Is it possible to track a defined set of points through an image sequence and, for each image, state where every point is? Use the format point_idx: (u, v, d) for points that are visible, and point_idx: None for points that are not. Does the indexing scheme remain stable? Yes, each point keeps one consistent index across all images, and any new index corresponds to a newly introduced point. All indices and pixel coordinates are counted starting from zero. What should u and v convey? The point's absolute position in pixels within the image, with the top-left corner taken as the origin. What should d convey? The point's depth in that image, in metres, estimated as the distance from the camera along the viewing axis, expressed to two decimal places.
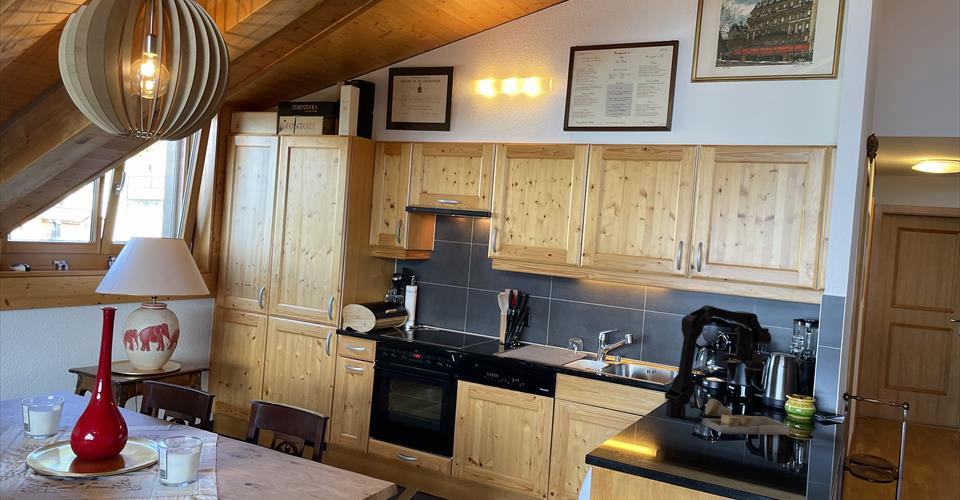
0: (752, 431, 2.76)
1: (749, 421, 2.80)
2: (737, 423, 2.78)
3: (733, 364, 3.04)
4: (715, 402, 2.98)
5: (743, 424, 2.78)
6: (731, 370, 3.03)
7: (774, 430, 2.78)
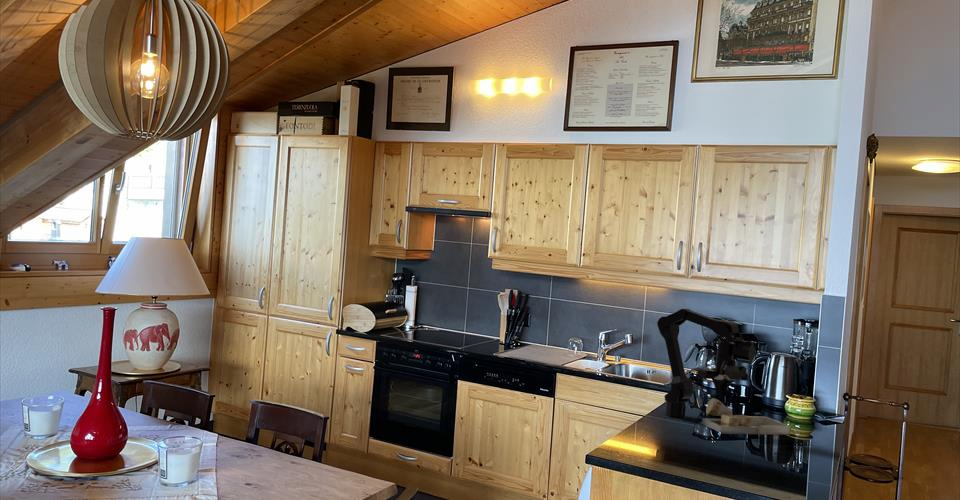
0: (752, 431, 2.76)
1: (749, 421, 2.80)
2: (737, 423, 2.78)
3: None
4: (716, 402, 2.98)
5: (743, 424, 2.78)
6: None
7: (774, 430, 2.78)
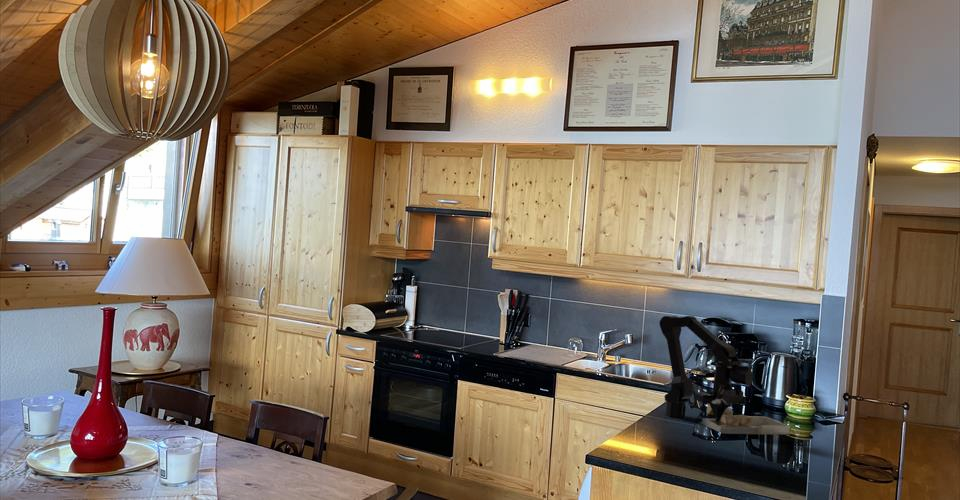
0: (752, 431, 2.76)
1: (749, 421, 2.80)
2: (737, 423, 2.78)
3: None
4: None
5: (743, 424, 2.78)
6: None
7: (774, 430, 2.78)
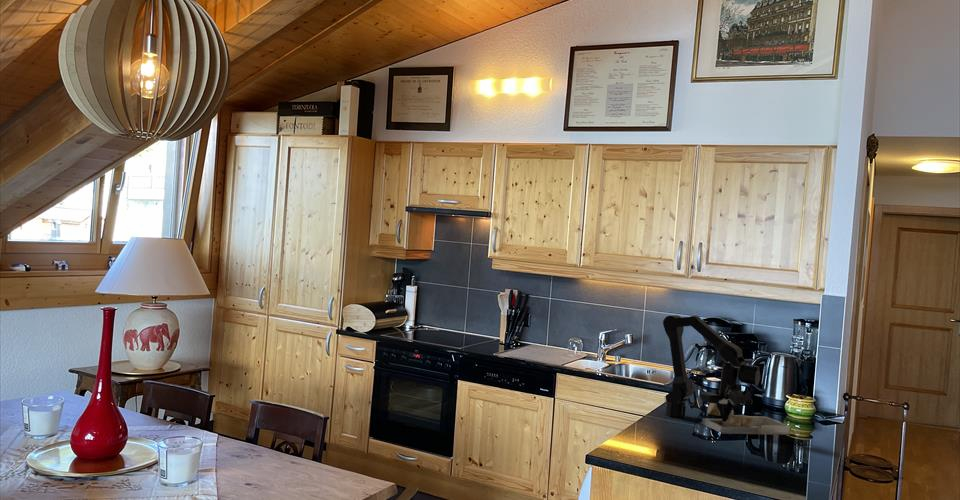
0: (752, 431, 2.76)
1: (749, 421, 2.80)
2: (739, 423, 2.78)
3: None
4: None
5: (743, 424, 2.78)
6: None
7: (774, 430, 2.78)
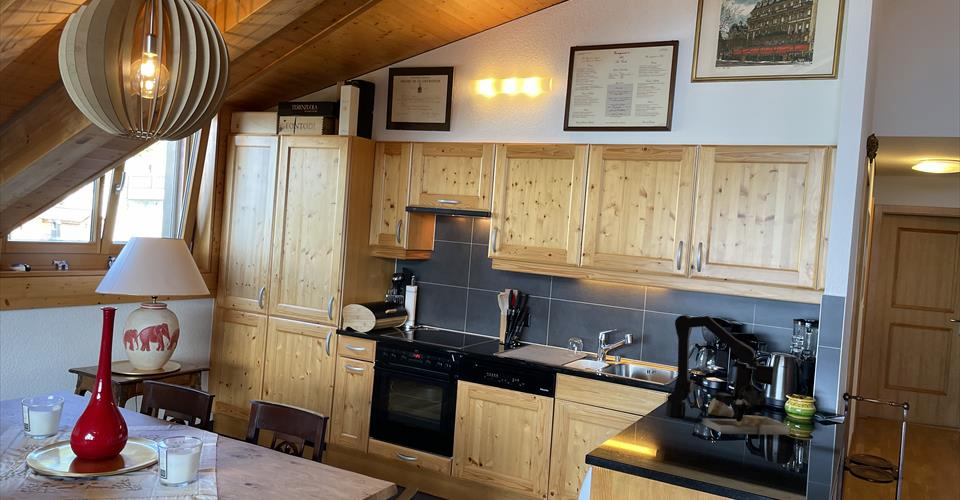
0: (752, 431, 2.76)
1: (763, 421, 2.81)
2: (753, 423, 2.80)
3: (741, 405, 2.81)
4: (717, 401, 2.99)
5: (755, 424, 2.80)
6: None
7: (774, 430, 2.78)
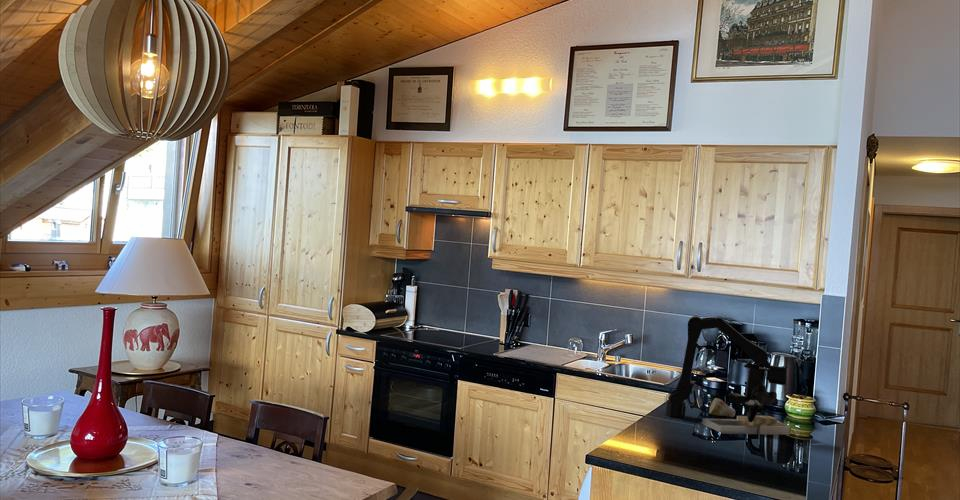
0: (752, 431, 2.76)
1: (774, 422, 2.83)
2: (765, 424, 2.82)
3: None
4: (718, 401, 3.00)
5: (767, 424, 2.82)
6: None
7: (774, 430, 2.78)
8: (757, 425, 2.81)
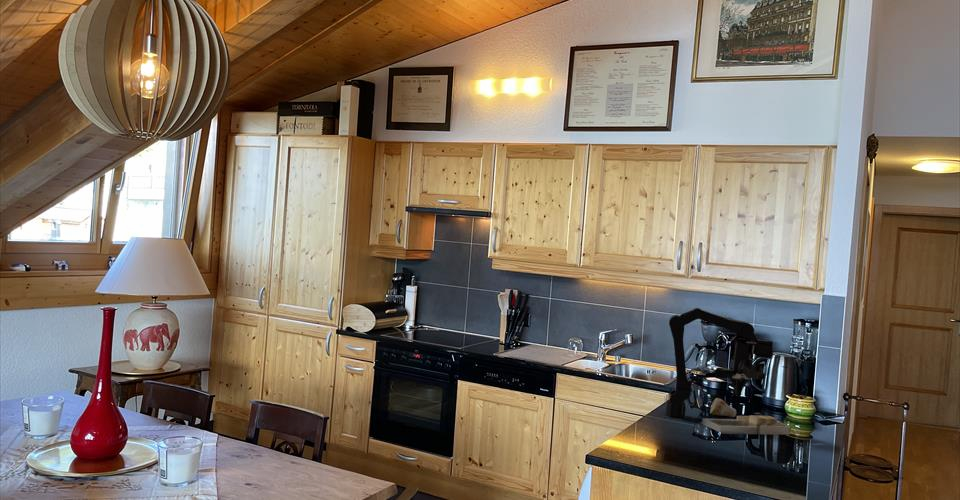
0: (752, 431, 2.76)
1: (774, 422, 2.83)
2: (765, 424, 2.82)
3: None
4: (719, 401, 3.00)
5: (767, 424, 2.82)
6: None
7: (774, 430, 2.78)
8: (757, 425, 2.81)
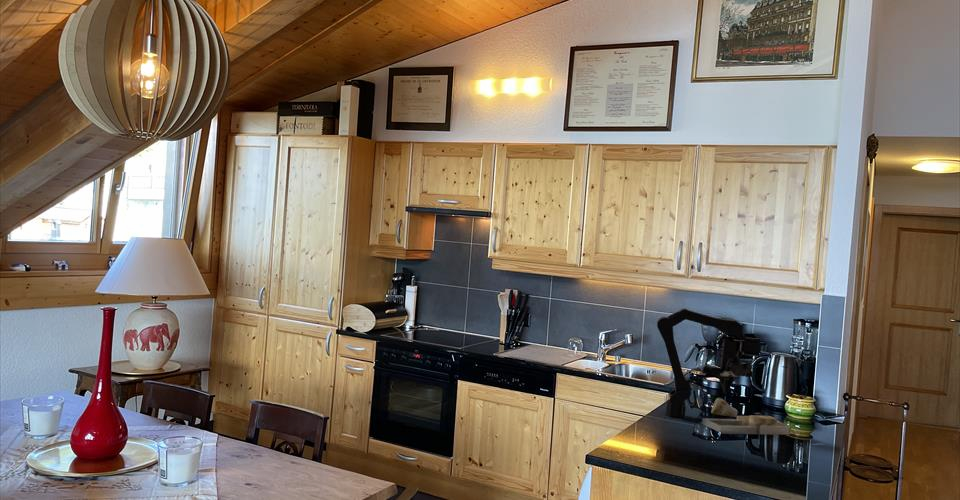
0: (752, 431, 2.76)
1: (774, 422, 2.83)
2: (765, 424, 2.82)
3: (728, 377, 2.87)
4: (720, 401, 3.01)
5: (767, 424, 2.82)
6: None
7: (774, 430, 2.78)
8: (757, 425, 2.81)
